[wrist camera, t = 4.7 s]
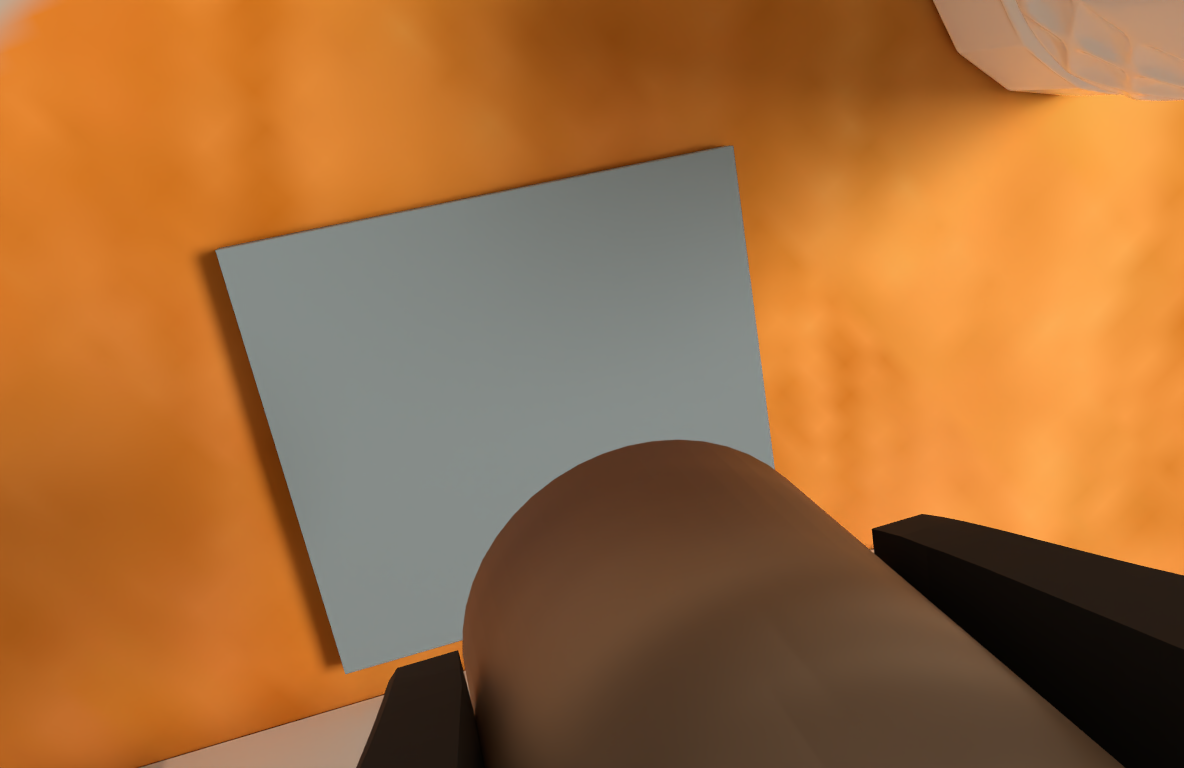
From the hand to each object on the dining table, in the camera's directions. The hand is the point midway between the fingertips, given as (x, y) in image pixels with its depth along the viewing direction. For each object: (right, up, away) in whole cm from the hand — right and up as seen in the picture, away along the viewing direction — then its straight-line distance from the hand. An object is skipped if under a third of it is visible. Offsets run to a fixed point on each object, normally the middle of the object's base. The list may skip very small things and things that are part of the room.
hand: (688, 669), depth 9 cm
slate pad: (-2, +2, +9) cm, 10 cm away
